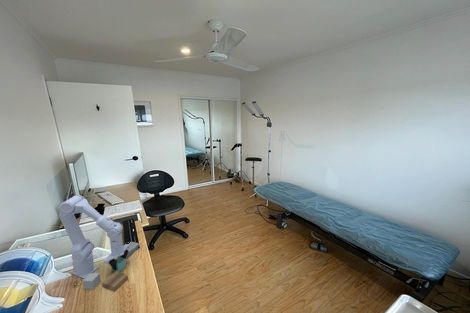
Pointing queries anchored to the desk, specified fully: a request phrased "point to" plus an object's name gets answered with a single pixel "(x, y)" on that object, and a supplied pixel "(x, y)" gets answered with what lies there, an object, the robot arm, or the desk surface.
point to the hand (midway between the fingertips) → (119, 266)
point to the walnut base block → (115, 281)
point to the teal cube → (120, 264)
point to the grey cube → (91, 281)
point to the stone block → (132, 248)
